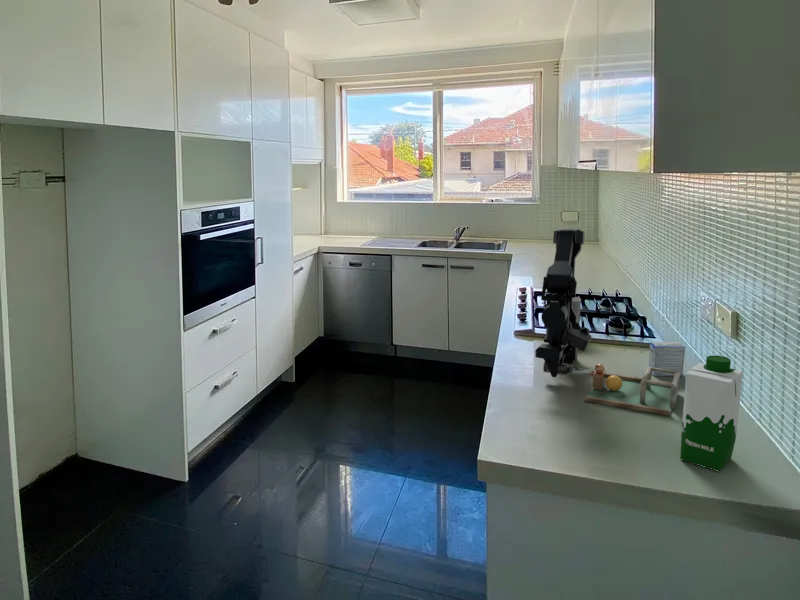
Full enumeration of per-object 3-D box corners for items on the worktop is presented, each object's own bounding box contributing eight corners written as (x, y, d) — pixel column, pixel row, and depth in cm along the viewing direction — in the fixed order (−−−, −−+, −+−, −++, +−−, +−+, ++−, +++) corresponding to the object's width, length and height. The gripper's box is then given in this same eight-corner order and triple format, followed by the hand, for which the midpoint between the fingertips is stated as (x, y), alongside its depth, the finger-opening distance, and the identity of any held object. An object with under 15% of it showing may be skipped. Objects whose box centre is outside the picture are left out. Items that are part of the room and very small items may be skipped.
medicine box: (676, 371, 155) (679, 341, 153) (683, 376, 151) (685, 346, 149) (647, 370, 156) (649, 341, 154) (653, 376, 152) (655, 346, 150)
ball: (603, 391, 141) (604, 376, 140) (607, 386, 144) (607, 372, 144) (620, 394, 139) (621, 379, 138) (623, 389, 142) (624, 374, 142)
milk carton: (737, 458, 107) (748, 360, 103) (723, 476, 101) (734, 373, 97) (689, 444, 113) (698, 351, 109) (672, 460, 107) (681, 362, 103)
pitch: (584, 401, 136) (585, 377, 135) (601, 376, 153) (602, 354, 151) (672, 417, 126) (674, 391, 125) (679, 388, 143) (681, 364, 141)
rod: (542, 380, 149) (543, 358, 148) (546, 376, 152) (547, 354, 151) (602, 389, 141) (603, 367, 140) (604, 385, 144) (606, 362, 143)
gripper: (580, 331, 134) (577, 391, 137) (597, 314, 149) (594, 369, 153) (535, 326, 139) (533, 384, 143) (555, 310, 155) (554, 363, 158)
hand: (555, 375), depth 149 cm, fingers closed on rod, 3 cm apart
